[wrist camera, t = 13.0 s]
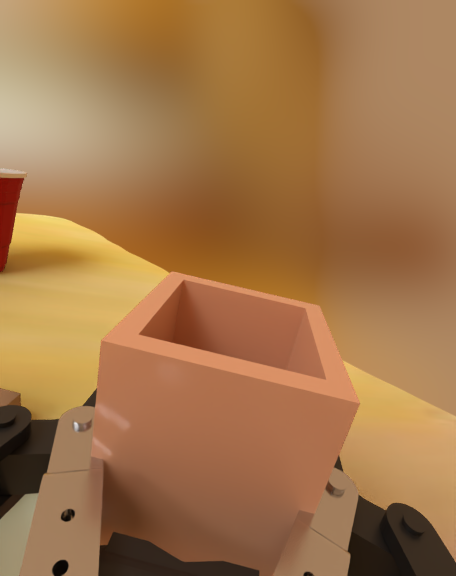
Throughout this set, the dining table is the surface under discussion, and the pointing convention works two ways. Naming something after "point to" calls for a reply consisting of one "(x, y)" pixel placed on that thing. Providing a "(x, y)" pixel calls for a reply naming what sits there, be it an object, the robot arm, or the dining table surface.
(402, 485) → the dining table surface
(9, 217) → the plastic cup
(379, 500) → the dining table surface
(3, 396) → the stand
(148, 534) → the sleeve
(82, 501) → the robot arm
